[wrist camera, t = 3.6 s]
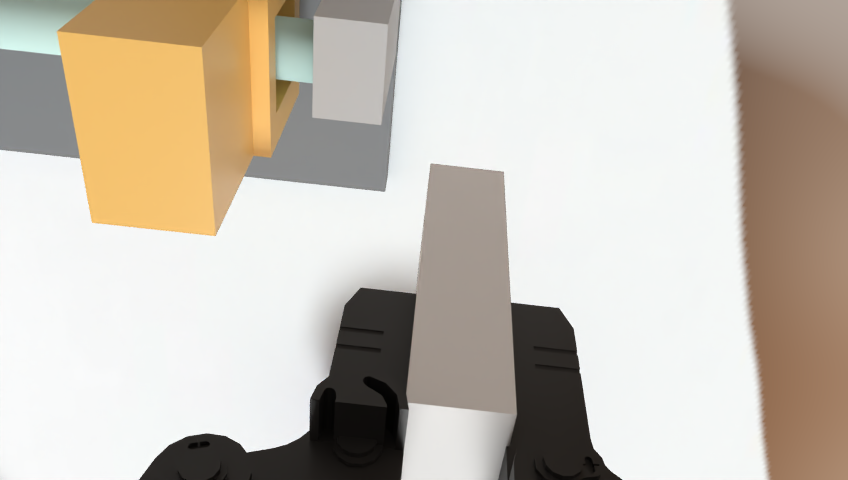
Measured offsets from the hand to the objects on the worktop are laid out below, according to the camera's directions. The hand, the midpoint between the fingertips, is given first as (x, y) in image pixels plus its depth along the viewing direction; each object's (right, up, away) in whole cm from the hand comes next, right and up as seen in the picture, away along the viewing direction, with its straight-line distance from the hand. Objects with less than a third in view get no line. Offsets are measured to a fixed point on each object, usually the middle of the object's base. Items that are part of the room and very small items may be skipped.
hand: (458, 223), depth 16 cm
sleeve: (-7, +7, +8) cm, 12 cm away
